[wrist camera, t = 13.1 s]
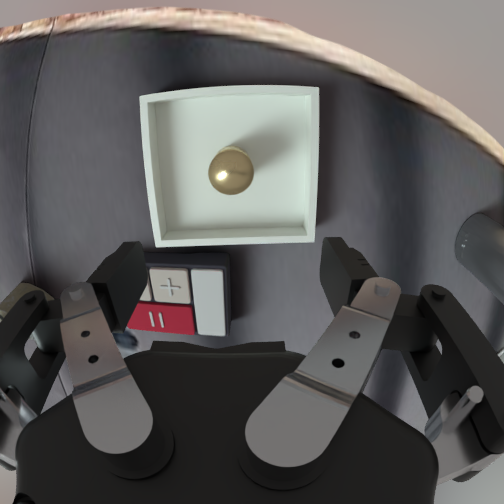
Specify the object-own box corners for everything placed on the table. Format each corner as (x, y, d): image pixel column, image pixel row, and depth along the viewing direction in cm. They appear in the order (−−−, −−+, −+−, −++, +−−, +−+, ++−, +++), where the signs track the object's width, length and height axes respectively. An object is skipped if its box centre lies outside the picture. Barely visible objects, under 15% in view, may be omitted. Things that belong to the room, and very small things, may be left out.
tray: (310, 90, 27) (318, 87, 24) (307, 230, 34) (314, 242, 31) (150, 98, 26) (139, 96, 23) (163, 235, 34) (155, 247, 31)
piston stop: (250, 145, 29) (254, 150, 23) (250, 181, 30) (254, 194, 25) (212, 146, 29) (207, 151, 23) (213, 182, 30) (209, 195, 25)
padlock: (20, 278, 36) (-29, 331, 23) (54, 294, 38) (7, 355, 24) (22, 296, 38) (-21, 349, 24) (56, 312, 39) (14, 373, 26)
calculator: (106, 264, 32) (226, 269, 31) (120, 249, 36) (229, 252, 35) (125, 331, 37) (229, 341, 36) (135, 313, 40) (231, 320, 40)
